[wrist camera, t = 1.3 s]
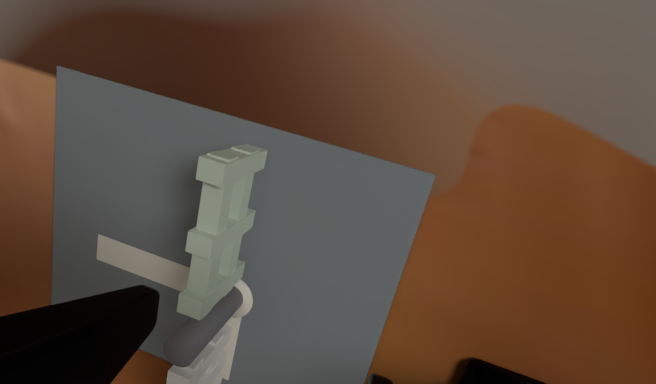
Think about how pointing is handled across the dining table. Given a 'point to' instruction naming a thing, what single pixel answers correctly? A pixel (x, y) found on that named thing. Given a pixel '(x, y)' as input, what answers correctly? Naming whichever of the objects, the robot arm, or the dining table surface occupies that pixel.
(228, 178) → the hinged fence panel
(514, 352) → the dining table surface
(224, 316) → the fixed fence panel
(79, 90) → the mat
